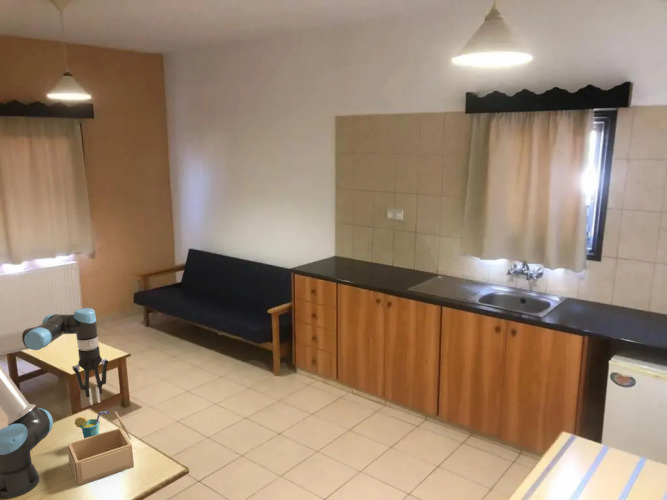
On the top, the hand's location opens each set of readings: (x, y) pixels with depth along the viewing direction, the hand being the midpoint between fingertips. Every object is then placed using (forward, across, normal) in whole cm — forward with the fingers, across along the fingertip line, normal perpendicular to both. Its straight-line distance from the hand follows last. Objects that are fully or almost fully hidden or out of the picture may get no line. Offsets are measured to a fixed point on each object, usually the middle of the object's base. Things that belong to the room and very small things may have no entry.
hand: (94, 402), depth 216 cm
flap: (+13, +9, 0) cm, 16 cm away
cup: (+29, +1, +19) cm, 34 cm away
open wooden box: (+28, 0, 0) cm, 28 cm away
